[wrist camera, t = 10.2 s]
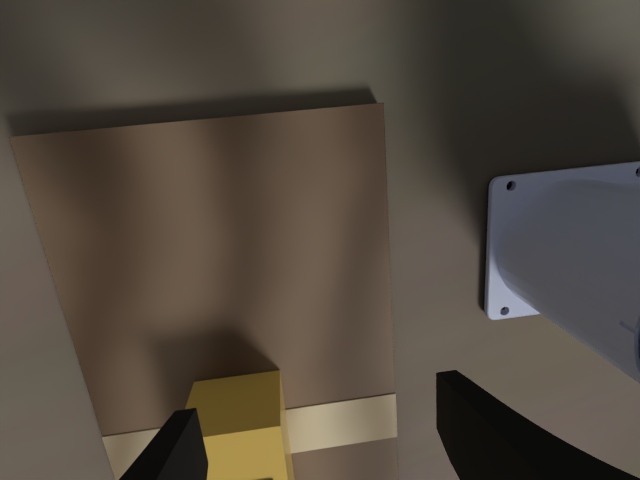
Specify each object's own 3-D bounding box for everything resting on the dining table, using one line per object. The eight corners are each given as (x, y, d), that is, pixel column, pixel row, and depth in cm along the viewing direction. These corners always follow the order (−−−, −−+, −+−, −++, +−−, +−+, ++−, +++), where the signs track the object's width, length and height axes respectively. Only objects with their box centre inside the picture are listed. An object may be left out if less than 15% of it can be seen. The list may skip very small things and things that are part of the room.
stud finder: (280, 370, 20) (280, 428, 16) (295, 486, 23) (299, 562, 19) (194, 381, 20) (173, 444, 16) (218, 498, 22) (205, 578, 18)
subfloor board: (377, 104, 18) (383, 102, 17) (395, 492, 25) (400, 507, 24) (23, 136, 17) (7, 136, 16) (144, 534, 24) (138, 552, 23)
